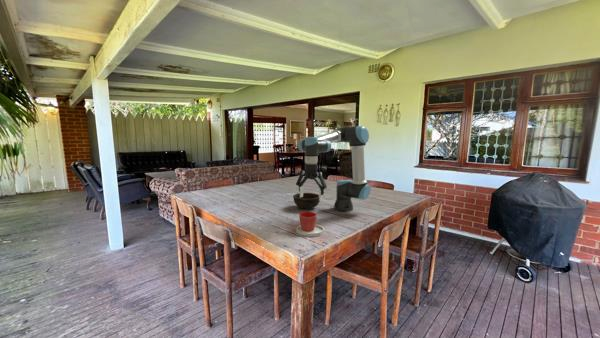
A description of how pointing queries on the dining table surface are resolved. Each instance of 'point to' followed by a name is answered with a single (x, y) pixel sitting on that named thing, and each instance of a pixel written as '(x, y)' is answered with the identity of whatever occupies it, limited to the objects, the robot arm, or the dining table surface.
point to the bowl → (306, 200)
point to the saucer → (316, 232)
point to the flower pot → (307, 221)
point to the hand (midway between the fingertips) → (310, 198)
